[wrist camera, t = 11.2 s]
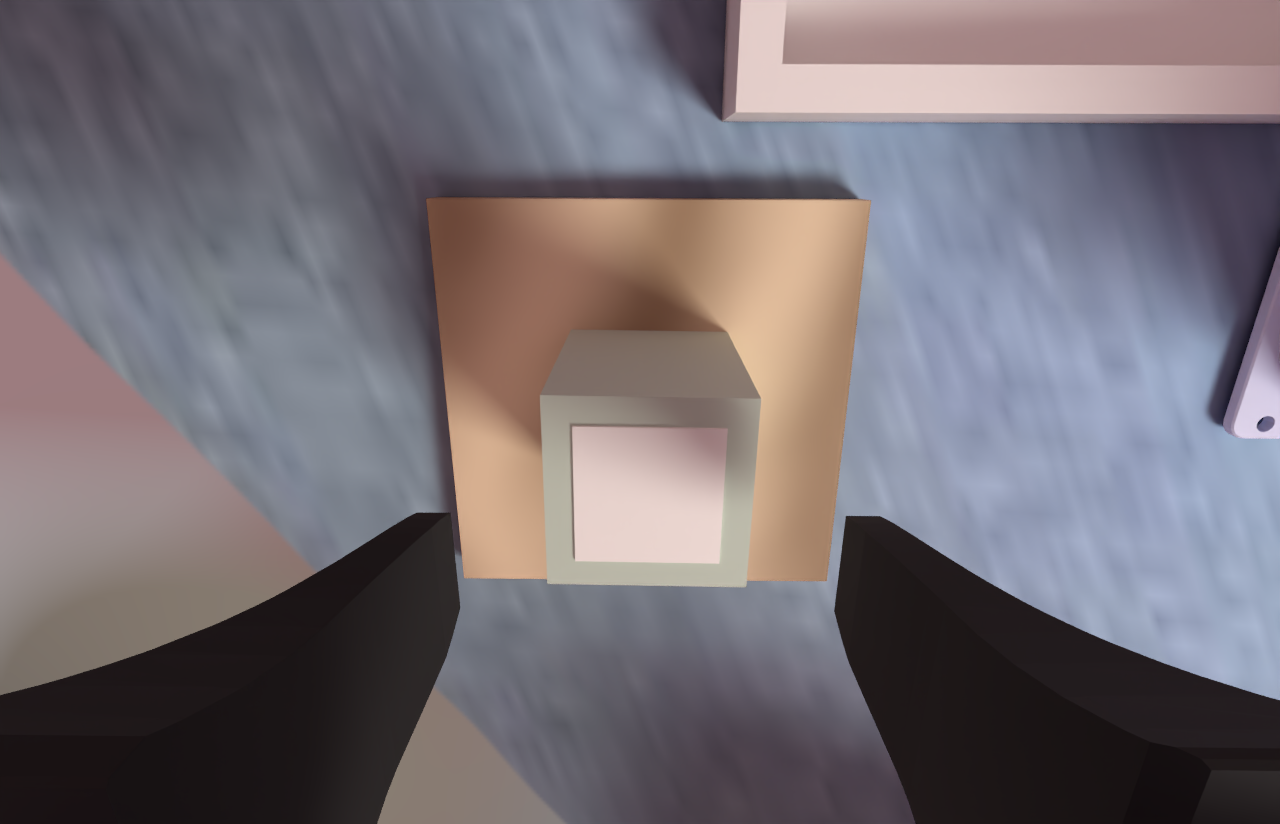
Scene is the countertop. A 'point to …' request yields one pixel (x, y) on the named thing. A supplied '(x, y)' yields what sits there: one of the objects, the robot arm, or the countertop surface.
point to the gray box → (649, 459)
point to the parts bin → (1002, 61)
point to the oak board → (649, 301)
